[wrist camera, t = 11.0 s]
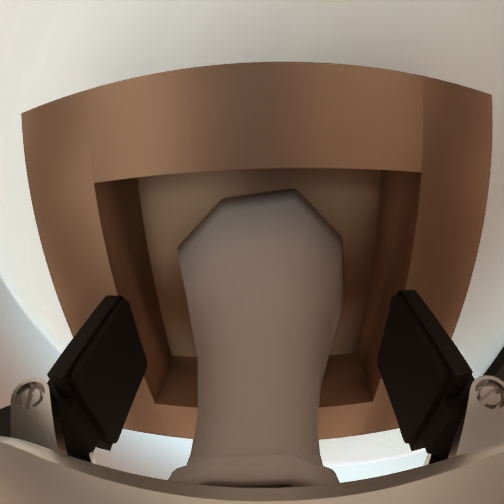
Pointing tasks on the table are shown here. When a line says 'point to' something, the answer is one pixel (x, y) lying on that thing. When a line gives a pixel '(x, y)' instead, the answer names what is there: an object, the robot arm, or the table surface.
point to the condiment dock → (253, 182)
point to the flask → (261, 339)
